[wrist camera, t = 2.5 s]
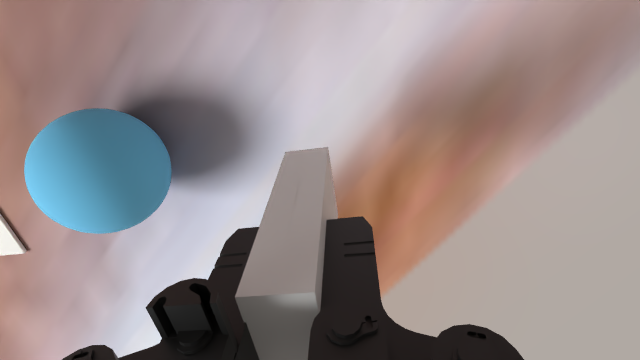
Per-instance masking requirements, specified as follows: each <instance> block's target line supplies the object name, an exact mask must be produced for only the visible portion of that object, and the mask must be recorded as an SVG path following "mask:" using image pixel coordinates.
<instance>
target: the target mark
mask: <svg viewBox="0 0 640 360" xmlns="http://www.w3.org/2000/svg"><path fill="white" fill-rule="evenodd" d="M26 252H27V250H26V249H25V247H24V246H23V245H22V243H21V242H20V240H19V239H18V238H17V236H16V235H15V233H14V232H13V231H12V229H11V228H10V226H9V225H8V224H7V222H6V221H5V219H4V218H3V217H2V215H1V214H0V255H11V254H23V253H26Z"/></svg>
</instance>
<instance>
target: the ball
mask: <svg viewBox="0 0 640 360" xmlns="http://www.w3.org/2000/svg"><path fill="white" fill-rule="evenodd" d="M24 173H25V181H26V185H27V188H28V191H29V193H30V195H31V197H32V199H33V200H34V202H35V203H36V205H37V206H38V207H39V208H40V209H41V211H42V212H44V213H45V214H46V215H47V216H48V217H49V218H51V219H52V220H54V221H55V222H57V223H59V224H61V225H63V226H65V227H67V228H70V229H73V230H76V231H80V232H85V233H97V234H102V233H112V232H118V231H121V230H125V229H128V228H130V227H133V226H135V225H137V224H139V223H141V222H142V221H144V220H145V219H146V218H148V217H149V216H150V215H151V214H153V213H154V212H155V211H156V210H157V208H158V207H159V206H160V205H161V203H162V202H163V200H164V199H165V197H166V195H167V192H168V190H169V186H170V182H171V174H172V171H171V162H170V157H169V154H168V151H167V149H166V147H165V145H164V144H163V142H162V140H161V139H160V138H159V136H158V135H157V134H156V133H155V132H154V131H153V130H152V129H151V128H150V127H149V126H148V125H146V124H145V123H143V122H142V121H140V120H139V119H137V118H135V117H133V116H131V115H129V114H126V113H123V112H119V111H115V110H110V109H84V110H79V111H75V112H71V113H69V114H66V115H64V116H61V117H59V118H58V119H56V120H54V121H53V122H51V123H49V124H48V125H47V126H46V127H45V128H44V129H43V130H42V131H40V132H39V134H38V135H37V136H36V138H35V139H34V140H33V142H32V143H31V145H30V148H29V150H28V153H27V155H26V160H25V169H24Z"/></svg>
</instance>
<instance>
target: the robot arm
mask: <svg viewBox="0 0 640 360" xmlns="http://www.w3.org/2000/svg"><path fill="white" fill-rule="evenodd" d="M146 309H147V311H148V313H149V315H150V317H151V318H152V320H153V322H154V324H155V326H156V328H157V330H158V331H159V333H160V335H161V337H162V340H161V342H160V343H159V344H157V345H155V346H153V347H150V348H147V349H144V350H141V351H138V352H135V353H132V354H129V355H126V356H123V357H120V358H118V357H117V356H116V354H115V353H114V351H113V350H112V349H111V348H109V347H107V346H105V345H92V346H89V347H86V348H83V349H80V350H77V351H76V352H74V353H72V354H70V355H69V356H67V357H65V358H63V359H62V360H524V359H523V358H522V356H521V355H520V354H519V353H518V351H517V350H516V349H515V348H514V347H513V346H512V345H511V344H510V343H509V342H508V341H507V340H506V339H505V338H503V337H502V336H501V335H499V334H497V333H495V332H493V331H491V330H489V329H487V328H484V327H479V326H475V325H470V324H468V325H457V326H452V327H450V328H448V329H447V330H444V331H442V332H441V333H440V334H439V336H438V337H433V336H428V335H424V334H420V333H416V332H413V331H410V330H407V329H405V328H403V327H401V326H400V325H398V324H396V323H395V322H394V321H393V320H392V319H391V318H390V317H389V316H388V315H387V313H386V312H385V310H384V309H383V306H382V302H381V297H380V289H379V280H378V272H377V264H376V256H375V248H374V239H373V231H372V227H371V225H370V224H369V223H368V222H367V221H366V220H365V218H364V217H363V216H362V217H351V218H340V219H338V211H337V204H336V197H335V191H334V184H333V177H332V170H331V164H330V157H329V150H328V147H325V148H316V149H308V150H299V151H290V152H285V155H284V158H283V161H282V163H281V166H280V169H279V172H278V175H277V178H276V181H275V184H274V186H273V189H272V192H271V195H270V198H269V201H268V204H267V206H266V209H265V212H264V215H263V218H262V221H261V224H260V227H253V228H242V229H238V230H237V231H236V232H235V233H234V234H233V235H232V236H231V237H230V238H229V239H228V240H227V241H226V242H225V244H224V247H223V249H222V251H221V253H220V257H218V260H217V262H216V264H215V269H213V270H212V273H211V275H210V277H209V279H208V280H206V279H197V278H193V279H188V280H184V281H180V282H178V283H176V284H173V285H171V286H169V287H167V288H166V289H164V290H163V291H162V292H160V293H159V294H158V295H156V296H155V297H154V298H153V299H152V301H151V302H150V303H149V304H148V305H147V307H146Z"/></svg>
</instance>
